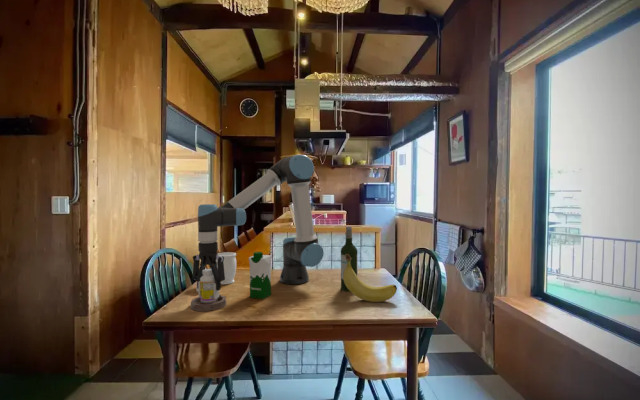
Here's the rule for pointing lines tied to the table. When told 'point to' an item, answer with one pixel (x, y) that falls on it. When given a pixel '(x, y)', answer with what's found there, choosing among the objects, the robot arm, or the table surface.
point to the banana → (366, 286)
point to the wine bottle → (352, 252)
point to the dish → (208, 304)
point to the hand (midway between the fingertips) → (208, 297)
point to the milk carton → (260, 275)
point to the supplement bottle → (207, 286)
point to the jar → (228, 266)
